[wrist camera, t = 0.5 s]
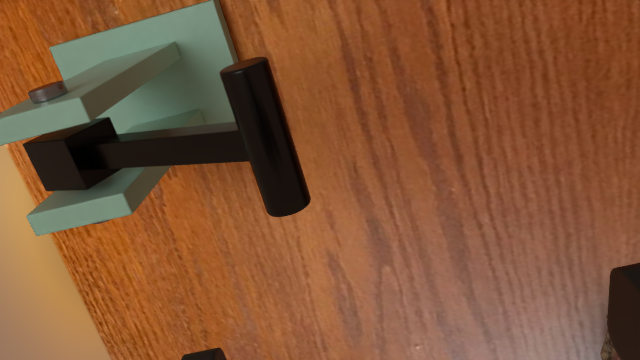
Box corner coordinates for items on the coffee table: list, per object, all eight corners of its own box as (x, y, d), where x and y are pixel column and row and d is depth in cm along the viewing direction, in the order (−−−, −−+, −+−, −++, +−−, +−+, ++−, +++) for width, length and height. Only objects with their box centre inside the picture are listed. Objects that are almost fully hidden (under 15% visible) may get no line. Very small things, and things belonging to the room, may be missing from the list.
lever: (283, 49, 18) (239, 73, 16) (324, 189, 19) (290, 224, 18) (55, 91, 24) (5, 112, 22) (102, 193, 26) (60, 219, 24)
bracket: (218, -3, 31) (132, 36, 19) (261, 130, 34) (210, 232, 22) (59, 43, 33) (-108, 105, 21) (113, 166, 36) (-6, 279, 24)
